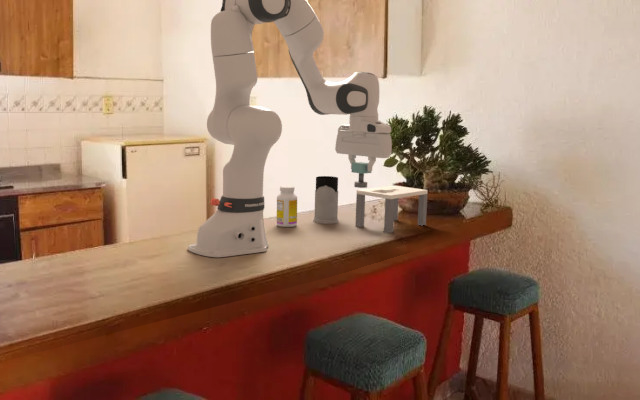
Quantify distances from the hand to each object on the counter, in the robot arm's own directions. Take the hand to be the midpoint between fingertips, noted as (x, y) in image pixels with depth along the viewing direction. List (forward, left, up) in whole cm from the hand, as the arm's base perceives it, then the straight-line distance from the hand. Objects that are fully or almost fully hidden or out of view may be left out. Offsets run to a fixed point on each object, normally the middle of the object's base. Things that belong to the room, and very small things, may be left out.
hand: (361, 170), depth 206 cm
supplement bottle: (-11, +22, -20) cm, 31 cm away
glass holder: (+7, +21, -20) cm, 30 cm away
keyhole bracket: (+16, 0, -20) cm, 25 cm away
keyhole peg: (0, 0, -5) cm, 5 cm away
